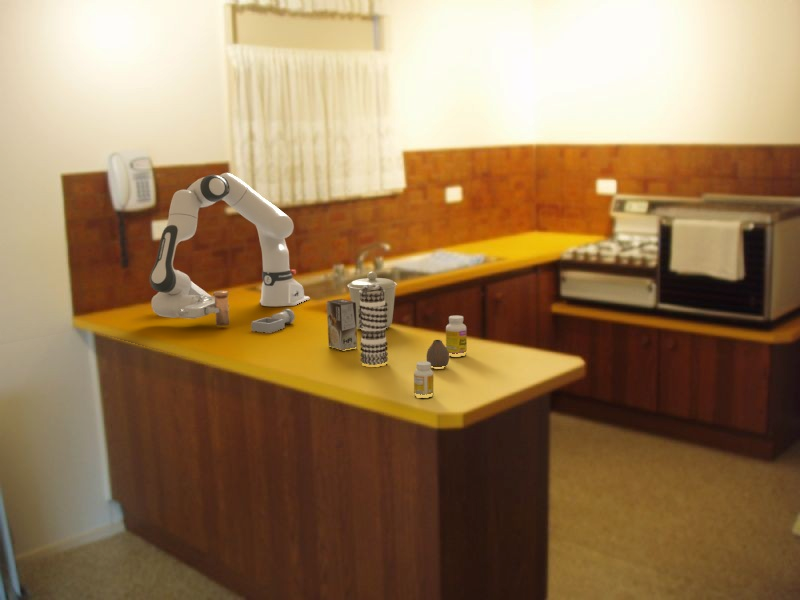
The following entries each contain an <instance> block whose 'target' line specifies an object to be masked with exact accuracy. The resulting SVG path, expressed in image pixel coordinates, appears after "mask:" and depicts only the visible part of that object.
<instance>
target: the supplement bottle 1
mask: <svg viewBox="0 0 800 600" xmlns="http://www.w3.org/2000/svg"><path fill="white" fill-rule="evenodd" d="M415 366H416V369H415V370H414V371H413V393H416V394H420V395H421V394H422V395H425V394H426V395H427V394H431V393H433V394H434V371H433V369H432V368H431V363H430V362H427V360H426V361H425V360H423V361H417V362H416V364H415Z"/></svg>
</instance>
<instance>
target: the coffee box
mask: <svg viewBox="0 0 800 600" xmlns="http://www.w3.org/2000/svg"><path fill="white" fill-rule="evenodd" d="M326 315H327V316H326V317H327V338H328V347H329V346H331V347H334V348H338V349H341V350H345V349H350V348H355V347H357V348H358V330H357V329H358V328H357V323H356V302H352V301H351V300H348V299H342V298H339V299H333V300H328V301H326Z"/></svg>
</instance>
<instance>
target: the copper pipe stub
mask: <svg viewBox="0 0 800 600" xmlns="http://www.w3.org/2000/svg"><path fill="white" fill-rule="evenodd" d="M228 296H229V291H228V290H216V291H213V292H212V297H215V308H216V307H220V308H221V309H220V310H221V312H219V313H215V325H216V326H228V325H230V316H229V315H230V314H229V313H230V312H229V309H228V305H229V297H228Z"/></svg>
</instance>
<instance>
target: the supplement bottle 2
mask: <svg viewBox="0 0 800 600" xmlns="http://www.w3.org/2000/svg"><path fill="white" fill-rule="evenodd" d="M463 322H464V316H463V315H450V316H448V323H447V325H446V326H445V347H446V348H447V350H448V353H452V354H455V353H456V354H458V353H464V352H466V351H467V343H468V341H467V340H468V339H467V332H468V331H467V326H466V324H464V323H463Z"/></svg>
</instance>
